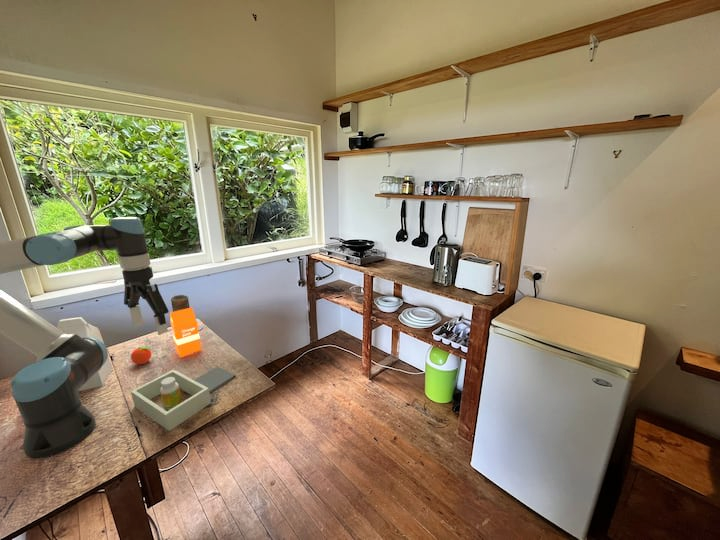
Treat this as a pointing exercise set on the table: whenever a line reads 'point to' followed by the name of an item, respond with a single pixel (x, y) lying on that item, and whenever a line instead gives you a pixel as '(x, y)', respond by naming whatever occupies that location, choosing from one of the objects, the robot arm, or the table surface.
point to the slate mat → (215, 378)
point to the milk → (87, 330)
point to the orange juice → (185, 332)
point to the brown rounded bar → (179, 302)
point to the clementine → (141, 355)
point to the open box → (178, 412)
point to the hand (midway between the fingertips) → (150, 328)
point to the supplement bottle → (170, 393)
